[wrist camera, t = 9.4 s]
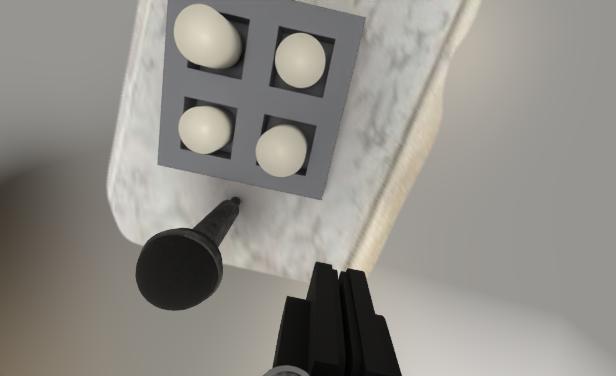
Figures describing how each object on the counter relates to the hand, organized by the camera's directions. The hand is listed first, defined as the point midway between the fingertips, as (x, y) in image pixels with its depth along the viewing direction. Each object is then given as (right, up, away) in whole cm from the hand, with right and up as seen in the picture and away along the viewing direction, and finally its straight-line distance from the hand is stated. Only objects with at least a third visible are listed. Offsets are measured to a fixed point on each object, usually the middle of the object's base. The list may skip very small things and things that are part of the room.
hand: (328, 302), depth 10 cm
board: (-7, +15, +26) cm, 31 cm away
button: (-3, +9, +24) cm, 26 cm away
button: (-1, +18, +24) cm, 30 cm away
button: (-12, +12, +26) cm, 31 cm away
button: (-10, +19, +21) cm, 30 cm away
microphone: (-11, +2, +30) cm, 32 cm away
